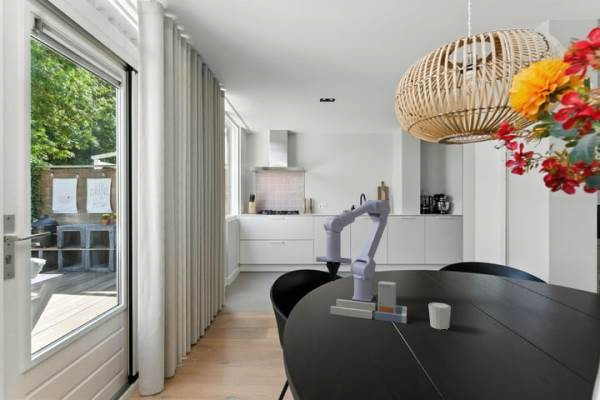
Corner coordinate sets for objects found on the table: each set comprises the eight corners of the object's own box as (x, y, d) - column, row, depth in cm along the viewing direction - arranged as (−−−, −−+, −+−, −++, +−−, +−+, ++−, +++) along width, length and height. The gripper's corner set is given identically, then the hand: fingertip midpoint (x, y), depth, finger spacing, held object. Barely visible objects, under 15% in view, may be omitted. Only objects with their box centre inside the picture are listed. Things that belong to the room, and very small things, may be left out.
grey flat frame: (337, 305, 125) (337, 299, 125) (406, 313, 116) (406, 306, 116) (330, 313, 115) (330, 307, 115) (406, 323, 106) (406, 316, 106)
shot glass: (433, 321, 109) (433, 300, 109) (454, 326, 104) (454, 305, 104) (425, 326, 104) (425, 305, 104) (446, 332, 99) (446, 309, 99)
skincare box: (377, 316, 113) (377, 283, 113) (379, 312, 117) (379, 280, 117) (394, 318, 110) (395, 284, 111) (396, 315, 114) (396, 282, 115)
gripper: (313, 247, 127) (313, 281, 126) (349, 249, 122) (349, 284, 122) (318, 245, 133) (318, 277, 133) (352, 247, 129) (352, 280, 128)
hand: (333, 280), depth 128 cm, fingers closed
